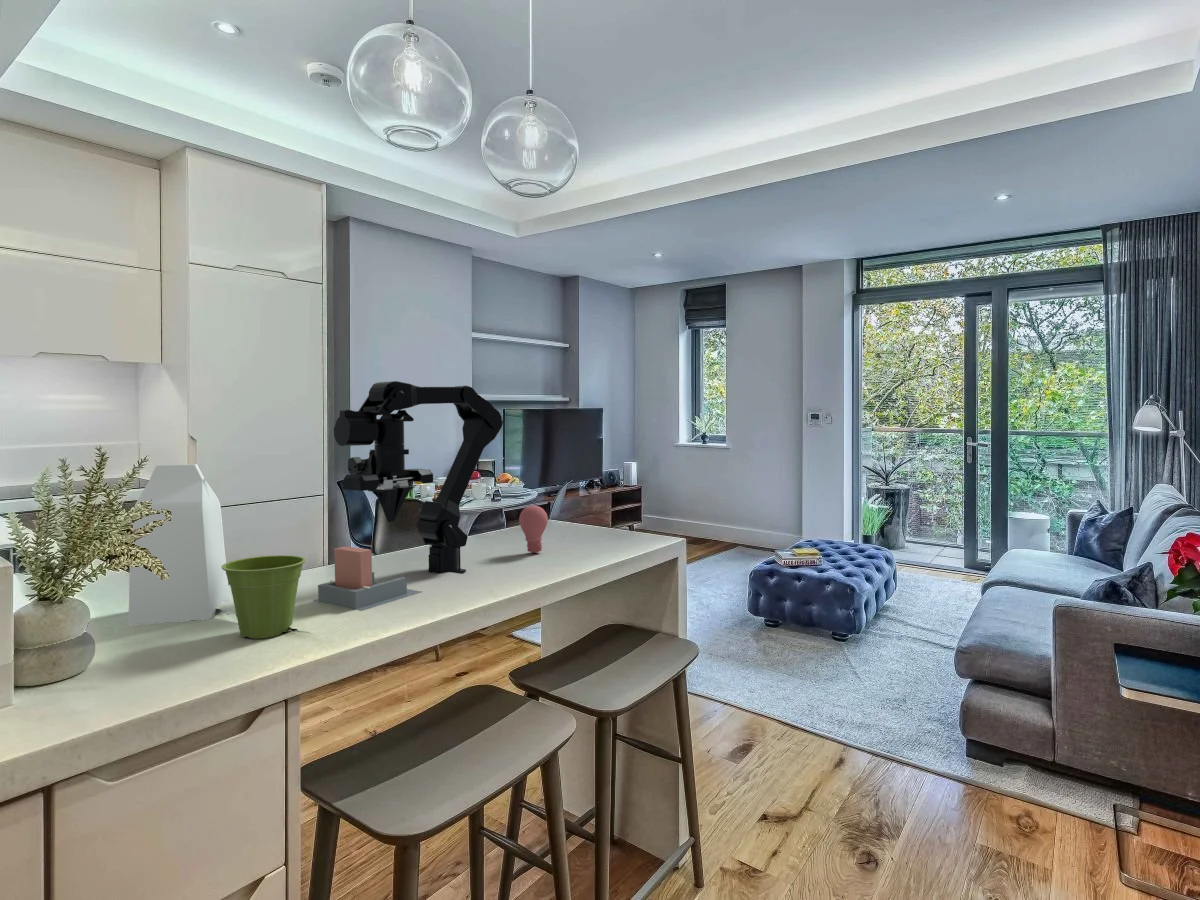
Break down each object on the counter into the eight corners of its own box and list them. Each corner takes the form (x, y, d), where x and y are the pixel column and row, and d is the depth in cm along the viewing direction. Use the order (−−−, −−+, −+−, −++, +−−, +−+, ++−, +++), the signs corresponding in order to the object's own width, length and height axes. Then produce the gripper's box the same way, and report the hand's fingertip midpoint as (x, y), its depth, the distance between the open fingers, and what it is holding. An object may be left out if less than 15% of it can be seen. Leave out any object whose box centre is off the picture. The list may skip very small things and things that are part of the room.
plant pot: (320, 630, 104) (319, 560, 103) (240, 650, 95) (238, 574, 94) (289, 616, 112) (287, 551, 111) (212, 633, 103) (210, 562, 102)
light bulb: (517, 551, 165) (516, 504, 165) (544, 549, 167) (544, 503, 167) (522, 556, 159) (521, 507, 158) (550, 554, 161) (550, 506, 160)
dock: (375, 588, 130) (374, 567, 130) (422, 596, 123) (422, 574, 123) (313, 605, 118) (312, 582, 117) (361, 616, 111) (361, 592, 111)
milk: (128, 625, 107) (122, 467, 106) (155, 606, 118) (150, 463, 117) (210, 619, 110) (205, 466, 109) (229, 601, 121) (225, 461, 120)
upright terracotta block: (350, 593, 121) (349, 545, 121) (376, 598, 117) (375, 549, 117) (335, 597, 118) (334, 548, 118) (361, 602, 115) (360, 552, 114)
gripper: (397, 442, 142) (398, 513, 143) (322, 445, 126) (324, 525, 127) (434, 443, 137) (435, 517, 137) (361, 446, 121) (363, 530, 121)
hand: (390, 521), depth 131 cm, fingers closed
